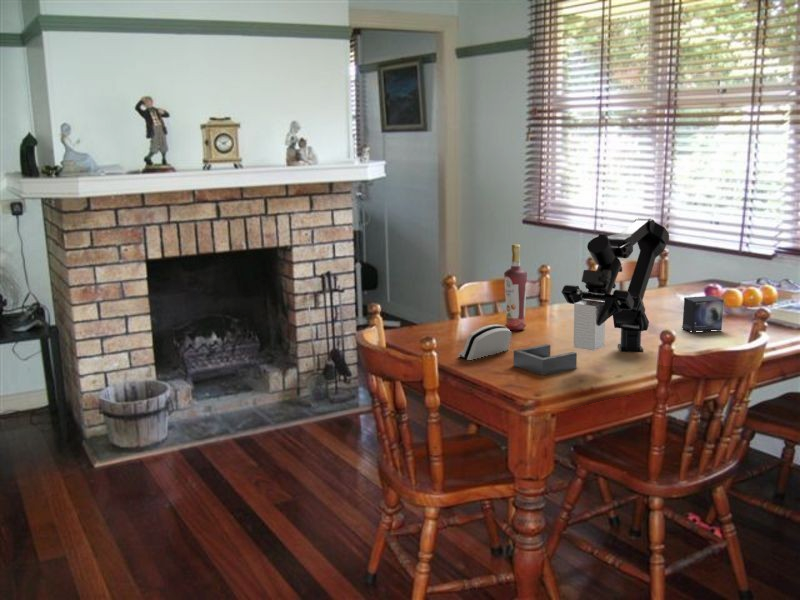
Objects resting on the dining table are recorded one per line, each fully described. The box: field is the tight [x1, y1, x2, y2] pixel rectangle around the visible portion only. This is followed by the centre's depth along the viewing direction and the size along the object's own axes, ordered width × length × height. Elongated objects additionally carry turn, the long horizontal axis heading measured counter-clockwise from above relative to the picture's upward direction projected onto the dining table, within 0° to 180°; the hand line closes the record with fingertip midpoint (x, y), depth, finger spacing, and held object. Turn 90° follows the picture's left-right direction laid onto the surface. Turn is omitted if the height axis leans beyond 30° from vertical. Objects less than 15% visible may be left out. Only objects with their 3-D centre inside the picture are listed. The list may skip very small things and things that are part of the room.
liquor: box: [503, 243, 528, 332], centre depth 262 cm, size 7×7×28 cm
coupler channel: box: [513, 343, 578, 376], centre depth 220 cm, size 12×12×4 cm
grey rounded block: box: [457, 324, 513, 361], centre depth 234 cm, size 17×5×10 cm, turn 131°
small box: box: [681, 295, 724, 332], centre depth 256 cm, size 11×6×10 cm, turn 102°
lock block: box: [573, 299, 606, 352], centre depth 214 cm, size 6×6×12 cm
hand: (587, 323), depth 213 cm, fingers closed on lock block, 6 cm apart
